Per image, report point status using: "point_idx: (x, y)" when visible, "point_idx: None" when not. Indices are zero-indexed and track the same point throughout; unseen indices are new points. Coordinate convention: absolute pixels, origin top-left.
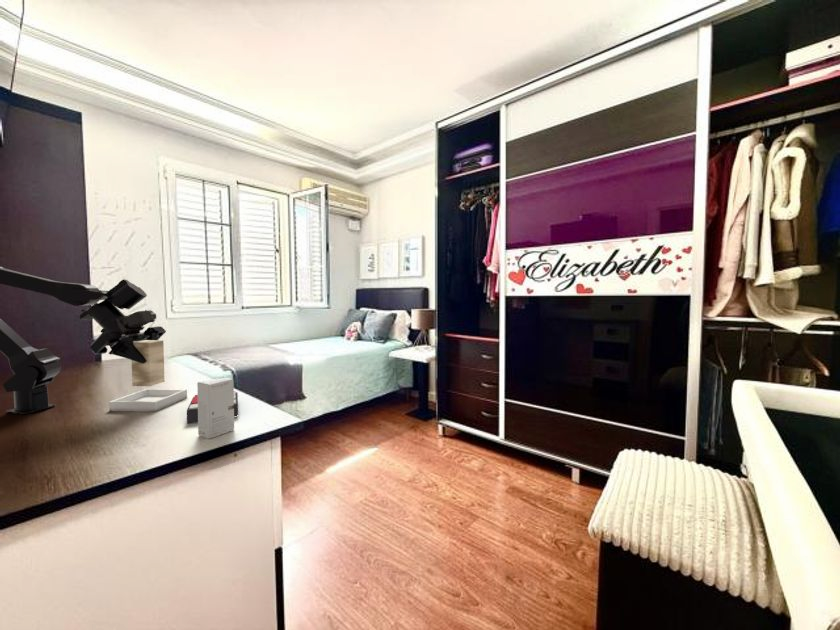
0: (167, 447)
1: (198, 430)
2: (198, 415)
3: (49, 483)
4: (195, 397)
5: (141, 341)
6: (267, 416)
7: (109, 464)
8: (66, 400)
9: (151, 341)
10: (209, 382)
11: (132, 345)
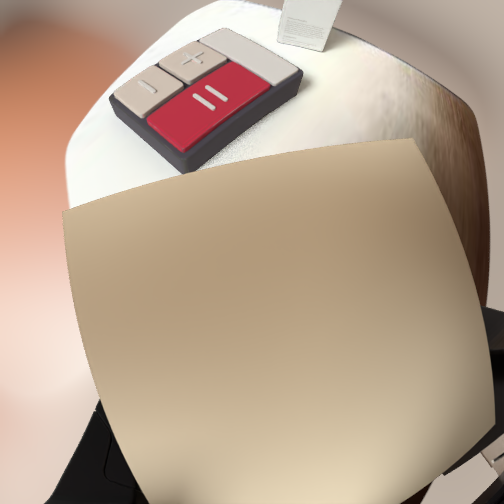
0: (366, 66)
1: (324, 45)
2: (332, 25)
3: (460, 120)
4: (214, 119)
5: (388, 456)
6: (205, 21)
7: (422, 97)
8: None
9: (305, 271)
10: None
11: (490, 338)
